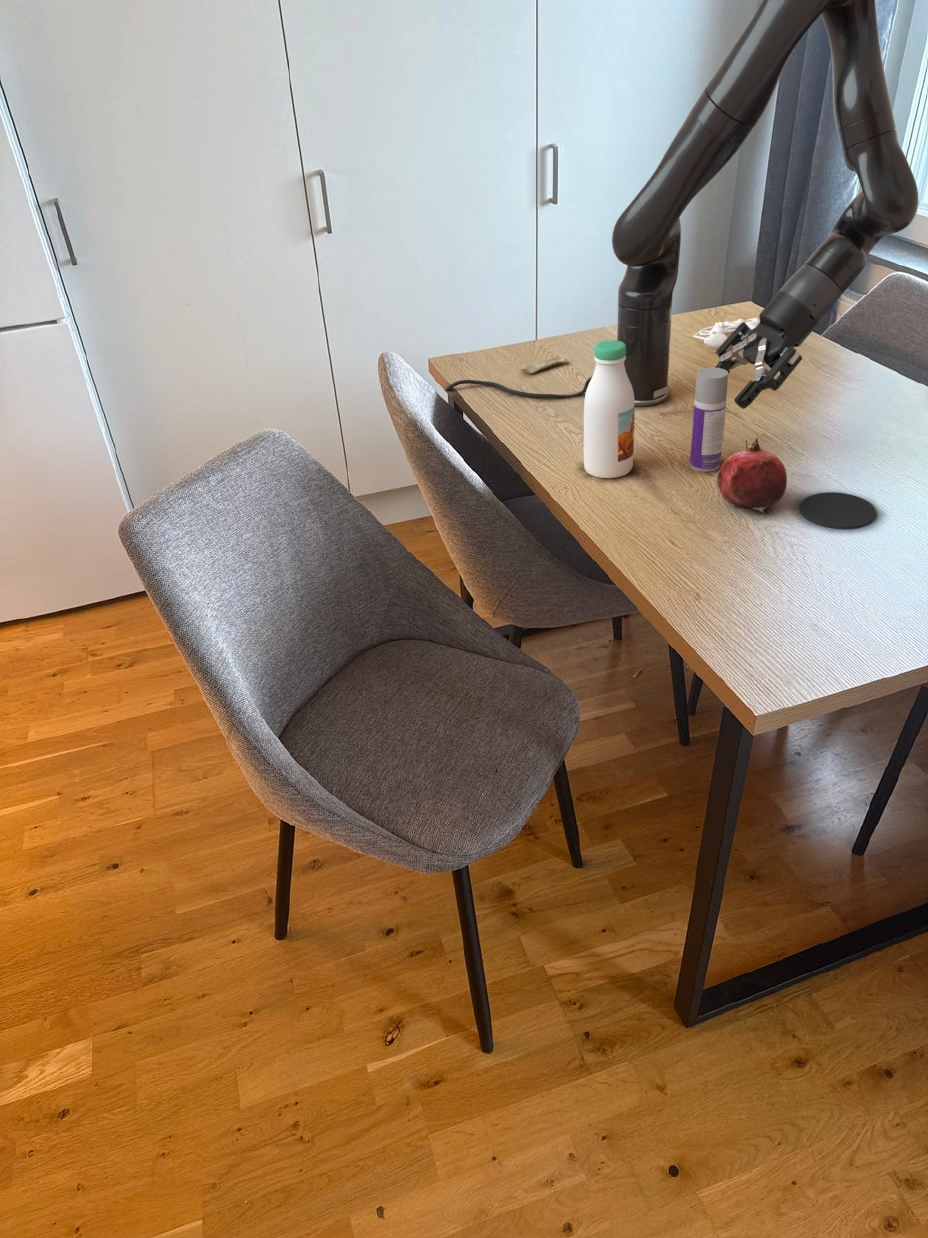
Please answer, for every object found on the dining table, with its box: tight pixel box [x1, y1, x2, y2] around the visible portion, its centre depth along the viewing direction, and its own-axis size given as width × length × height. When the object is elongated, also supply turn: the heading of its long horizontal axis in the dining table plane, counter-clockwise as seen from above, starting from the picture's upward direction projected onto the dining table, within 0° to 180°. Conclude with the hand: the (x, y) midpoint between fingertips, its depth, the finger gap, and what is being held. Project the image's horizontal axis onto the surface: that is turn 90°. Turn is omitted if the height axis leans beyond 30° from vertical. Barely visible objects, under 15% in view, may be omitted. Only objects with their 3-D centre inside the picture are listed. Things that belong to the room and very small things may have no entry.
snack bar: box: [521, 355, 568, 374], centre depth 183 cm, size 10×2×3 cm
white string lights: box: [693, 317, 760, 352], centre depth 187 cm, size 19×14×4 cm
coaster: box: [799, 491, 877, 530], centre depth 128 cm, size 10×10×1 cm
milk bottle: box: [583, 339, 636, 479], centre depth 138 cm, size 8×8×20 cm
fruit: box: [716, 437, 788, 514], centre depth 129 cm, size 9×10×10 cm
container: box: [689, 367, 729, 473], centre depth 138 cm, size 5×5×15 cm
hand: (723, 395), depth 137 cm, fingers open, 8 cm apart
